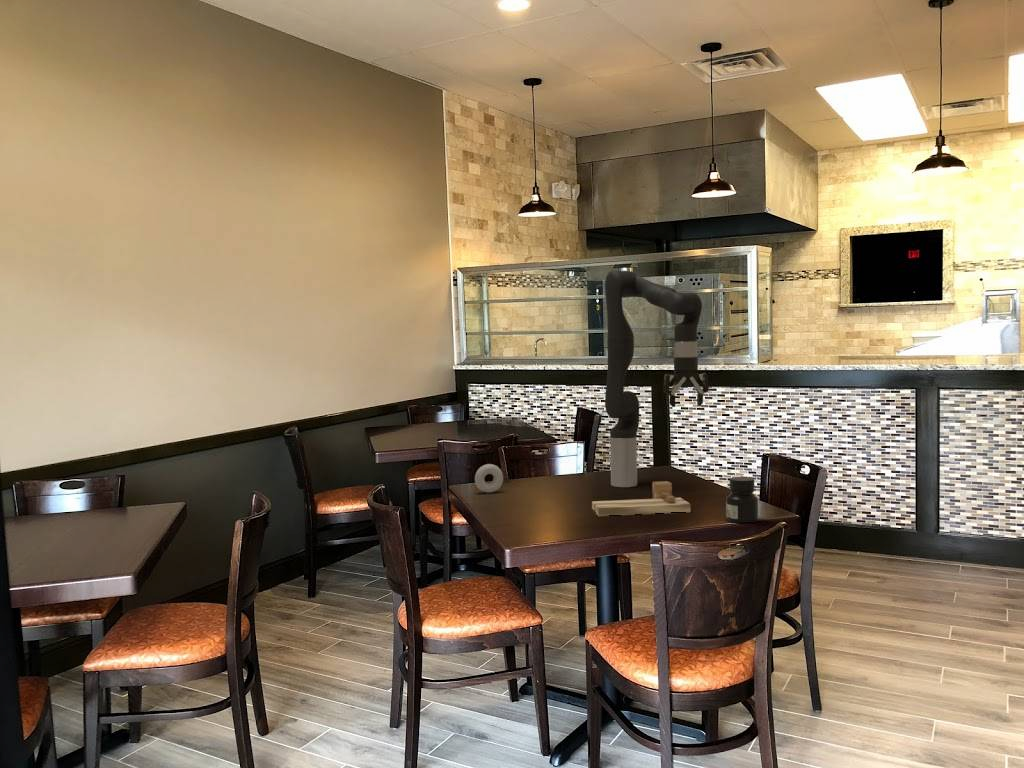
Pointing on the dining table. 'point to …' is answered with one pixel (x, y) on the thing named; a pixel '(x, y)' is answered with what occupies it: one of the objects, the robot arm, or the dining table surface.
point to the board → (639, 506)
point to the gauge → (663, 491)
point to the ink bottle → (742, 501)
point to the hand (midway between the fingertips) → (686, 406)
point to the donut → (481, 478)
